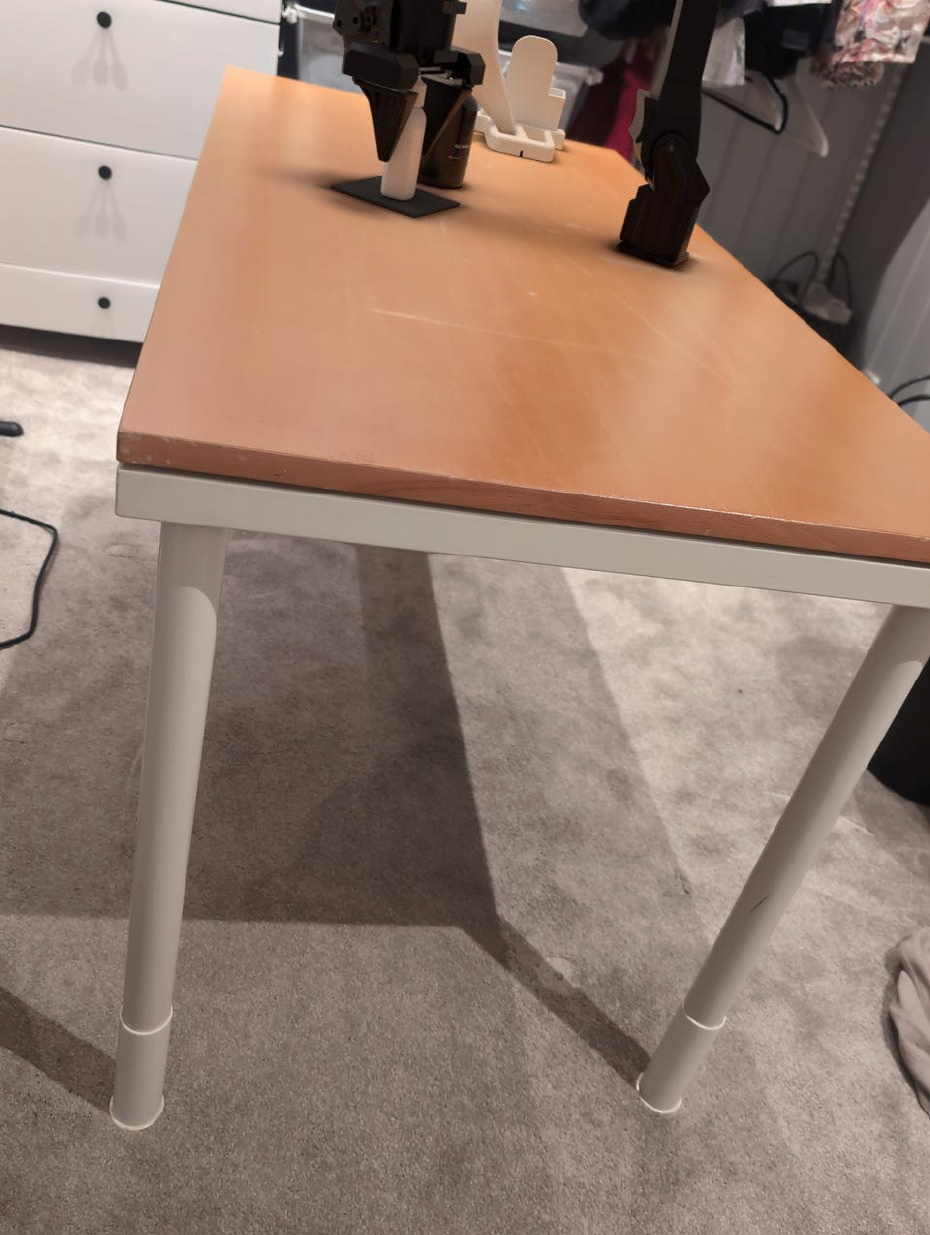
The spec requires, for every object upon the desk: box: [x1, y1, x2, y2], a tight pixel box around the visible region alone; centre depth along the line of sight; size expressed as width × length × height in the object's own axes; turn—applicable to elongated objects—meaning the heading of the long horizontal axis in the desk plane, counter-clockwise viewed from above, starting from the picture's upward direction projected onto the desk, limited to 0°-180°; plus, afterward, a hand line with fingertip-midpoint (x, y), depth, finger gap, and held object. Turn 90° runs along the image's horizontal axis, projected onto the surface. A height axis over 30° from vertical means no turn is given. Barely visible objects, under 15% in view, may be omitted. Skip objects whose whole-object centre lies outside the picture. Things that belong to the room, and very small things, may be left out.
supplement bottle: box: [417, 79, 479, 189], centre depth 113 cm, size 7×7×12 cm
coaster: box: [329, 175, 461, 219], centre depth 107 cm, size 10×10×1 cm
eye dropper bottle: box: [381, 72, 427, 201], centre depth 103 cm, size 4×6×12 cm
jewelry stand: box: [452, 0, 567, 163], centre depth 137 cm, size 25×16×25 cm, turn 91°
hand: (403, 157), depth 105 cm, fingers closed on eye dropper bottle, 8 cm apart
